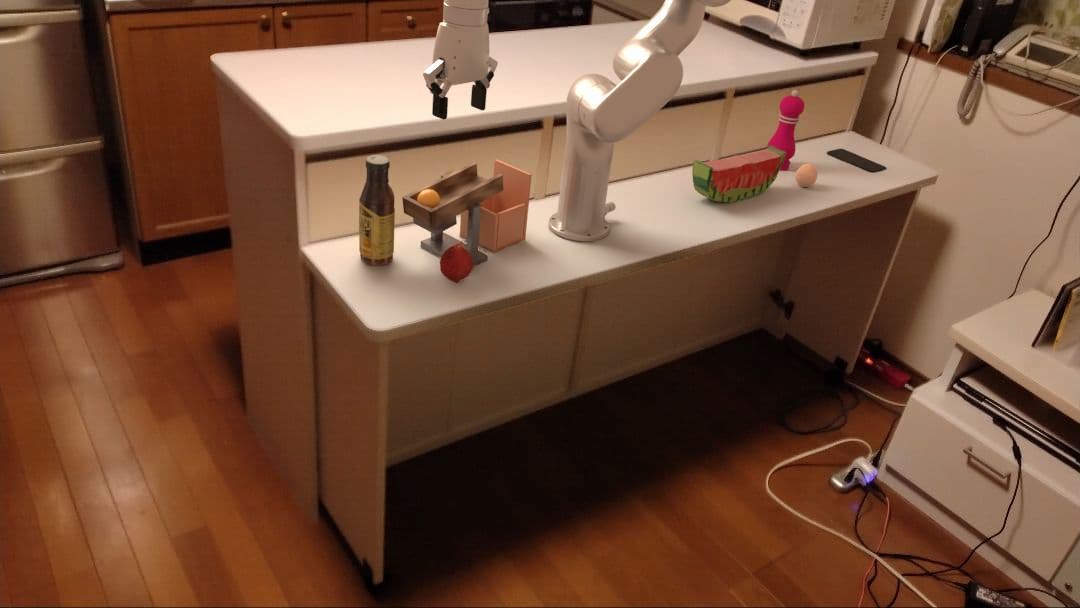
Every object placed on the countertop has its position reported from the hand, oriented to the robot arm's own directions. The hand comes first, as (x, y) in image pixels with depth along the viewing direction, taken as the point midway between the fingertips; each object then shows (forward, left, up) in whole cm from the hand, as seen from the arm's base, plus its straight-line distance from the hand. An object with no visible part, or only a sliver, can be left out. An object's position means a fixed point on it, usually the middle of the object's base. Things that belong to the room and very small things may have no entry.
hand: (459, 112), depth 151 cm
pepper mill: (-94, +22, -25) cm, 100 cm away
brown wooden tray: (+5, +3, -17) cm, 18 cm away
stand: (+5, +5, -25) cm, 26 cm away
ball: (+12, +5, -12) cm, 18 cm away
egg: (-87, +33, -25) cm, 97 cm away
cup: (-6, +5, -25) cm, 26 cm away
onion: (+12, +13, -25) cm, 31 cm away
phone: (-117, +34, -26) cm, 125 cm away
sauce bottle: (+18, -2, -25) cm, 31 cm away
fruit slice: (-66, +25, -25) cm, 75 cm away
